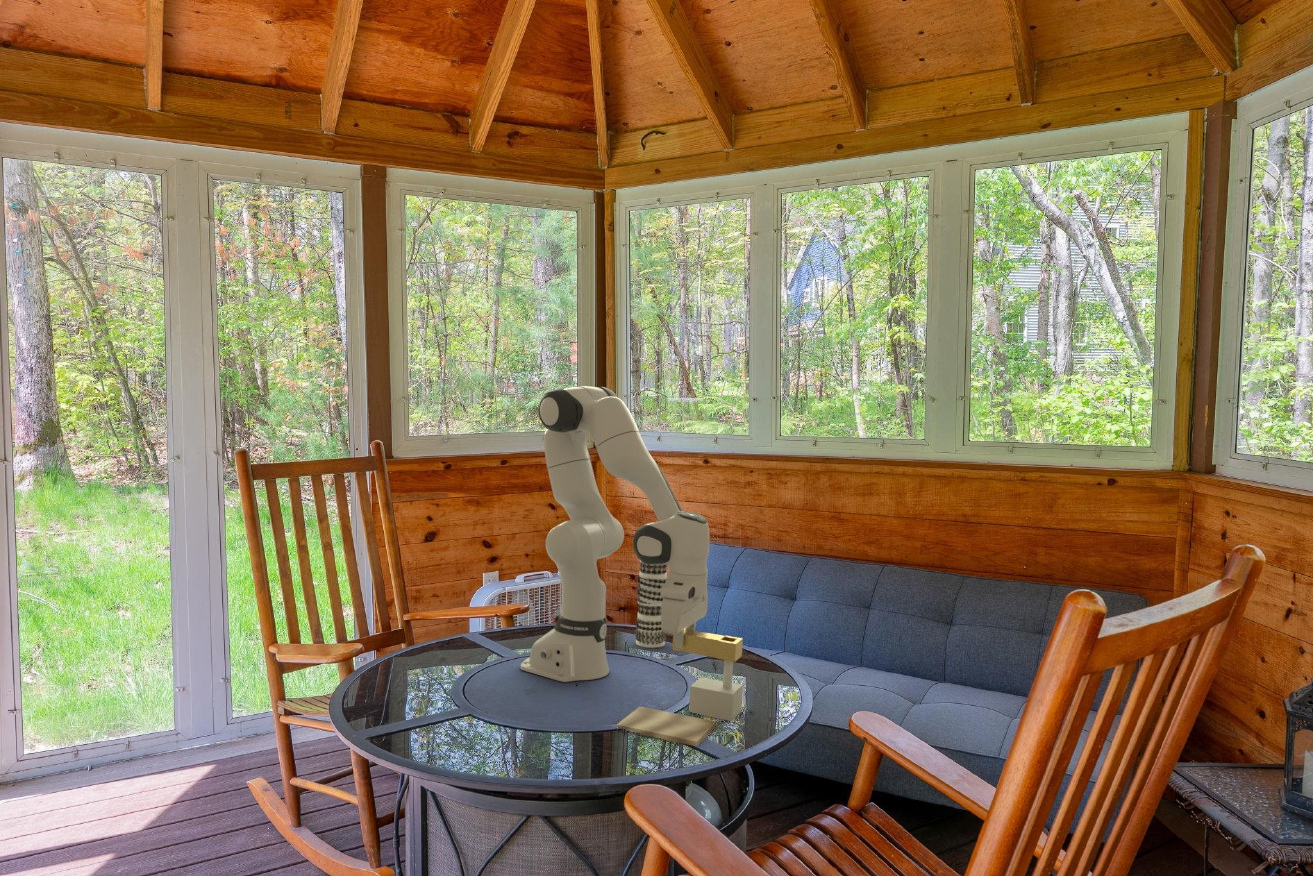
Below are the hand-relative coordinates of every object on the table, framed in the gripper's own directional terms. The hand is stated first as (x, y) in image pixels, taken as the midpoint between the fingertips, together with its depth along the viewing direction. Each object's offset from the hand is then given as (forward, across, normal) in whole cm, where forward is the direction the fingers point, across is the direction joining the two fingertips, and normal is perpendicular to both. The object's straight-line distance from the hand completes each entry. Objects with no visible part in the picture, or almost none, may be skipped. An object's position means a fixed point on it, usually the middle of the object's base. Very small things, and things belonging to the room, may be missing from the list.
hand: (683, 644), depth 193 cm
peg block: (+14, 0, +8) cm, 16 cm away
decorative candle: (+15, -41, -25) cm, 50 cm away
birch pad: (+14, +14, +2) cm, 20 cm away
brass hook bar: (+1, 0, +5) cm, 6 cm away
